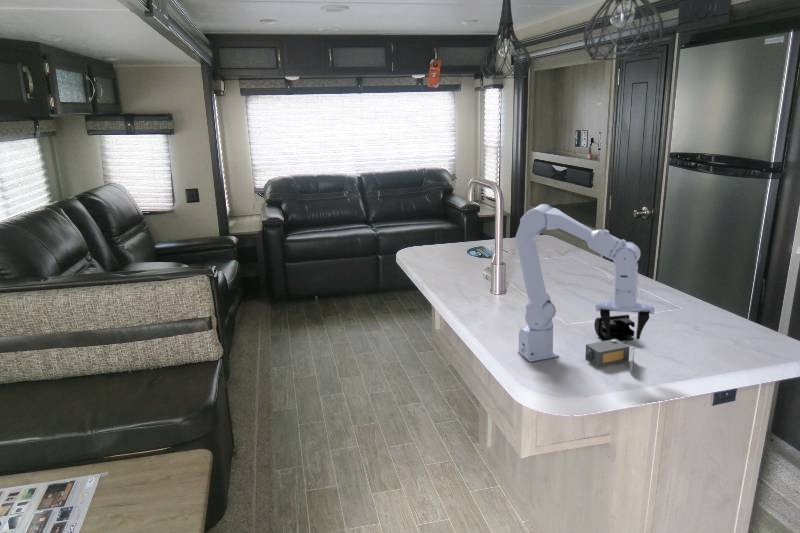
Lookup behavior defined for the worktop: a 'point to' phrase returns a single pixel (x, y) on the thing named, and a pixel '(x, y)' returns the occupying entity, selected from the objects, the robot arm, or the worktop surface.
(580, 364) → the worktop surface
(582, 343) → the worktop surface
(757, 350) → the worktop surface
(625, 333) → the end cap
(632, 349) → the side cover
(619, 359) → the camera case
